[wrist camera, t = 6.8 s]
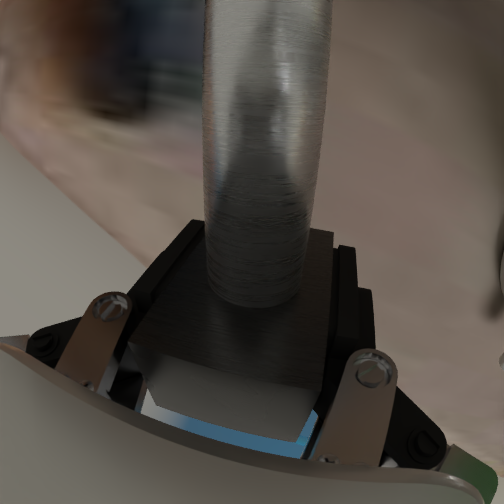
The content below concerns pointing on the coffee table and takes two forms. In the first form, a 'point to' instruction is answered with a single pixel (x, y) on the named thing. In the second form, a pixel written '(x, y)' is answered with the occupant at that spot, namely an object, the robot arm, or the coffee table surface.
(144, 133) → the coffee table surface
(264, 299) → the shaft
